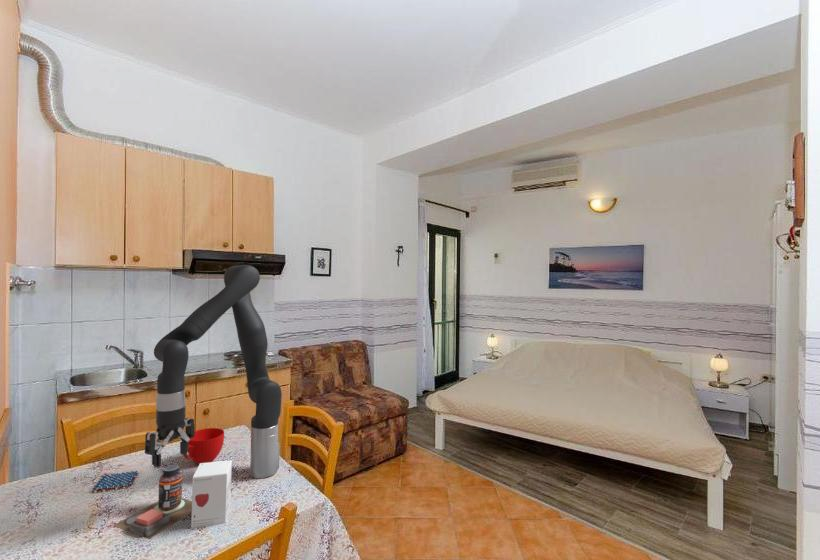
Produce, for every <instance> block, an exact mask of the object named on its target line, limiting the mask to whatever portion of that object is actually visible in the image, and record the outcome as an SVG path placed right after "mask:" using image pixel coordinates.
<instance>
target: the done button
mask: <svg viewBox="0 0 820 560" xmlns="http://www.w3.org/2000/svg"><path fill="white" fill-rule="evenodd" d="M161 518H163V512H160V511H157V510H154V509H151V510H149V511H148V512H146V513H144V514H142V515H140V516H138V517H137V518H136V523H138V524H140V525H143V526H146V527H148V526H149V525H151V524H153V523H155V522H156V521H158V520H160V519H161Z"/></svg>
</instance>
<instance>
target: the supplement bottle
mask: <svg viewBox="0 0 820 560" xmlns="http://www.w3.org/2000/svg"><path fill="white" fill-rule="evenodd" d="M182 489H183V474H182V472H180V467H179V465H177V464H172V465H168V466H165V467H164V468H163V470H162V475H161V476H160V477H159V479H158V501H157V502H158V507H159V509H160V510H171V509H174V508H176V507H177V506H179V505H180V504H181V500H182V499H181V498H183V497H182V495H183V494H182V493H183V491H182Z"/></svg>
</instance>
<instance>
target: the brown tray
mask: <svg viewBox="0 0 820 560" xmlns="http://www.w3.org/2000/svg"><path fill="white" fill-rule="evenodd" d="M181 499H182V500H181V504H180V505H179V506H177V507H176V508H174V509H171V510H160V509H159V507H158V501H156V502H154V503H152V504H151V505H149V506H147V507H145V508H143V509H141V510H139V511H138V512H136V513H134V514H132V515H129V516H128V517H126V518H125V519H123V520H121V521H119V522H117V523H114V524H113V525H112V526H113V527H115V528H117V529H121V530H124V531H125V532H129V533H132V534H134V535H137V536H140V537H142V538H145V539H148V540H150V539H152V537H154V536H157V535H158V534H160V533H161V532H163V531H164V530H166V529H168V528H169V527H171V526H173V524H176V523H177V522H179V521H180V520H182V519H183V518H185V517H187V516H189V515H191V514H192V500H189V499H186V498H183V497H182V498H181ZM151 509H154V510H157V511H160V512H163V518H161V519H160V520H158V521H156V522H155V523H153V524H151V525H149V526H148V527H146V526H143V525H140V524H138V523H136V518H137V517H138V516H140V515H142V514H144V513H146V512H148V511H149V510H151Z"/></svg>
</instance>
